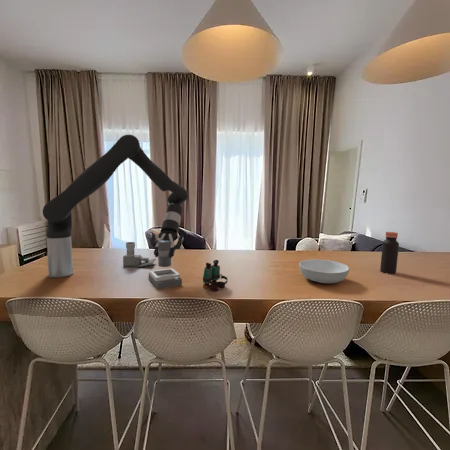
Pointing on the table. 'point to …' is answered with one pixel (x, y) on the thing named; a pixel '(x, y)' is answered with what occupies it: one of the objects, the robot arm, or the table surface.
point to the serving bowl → (323, 270)
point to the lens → (164, 253)
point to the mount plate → (165, 278)
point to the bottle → (389, 253)
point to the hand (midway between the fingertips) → (163, 256)
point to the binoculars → (213, 277)
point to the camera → (135, 257)
